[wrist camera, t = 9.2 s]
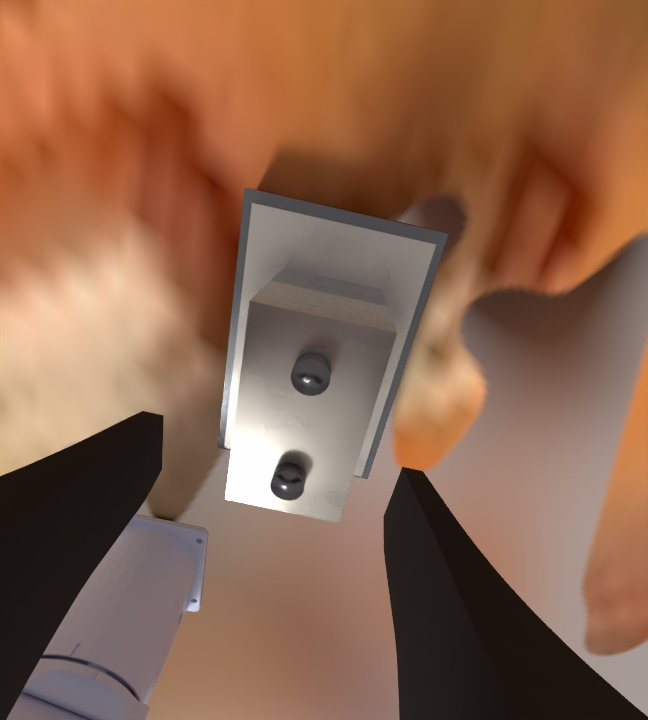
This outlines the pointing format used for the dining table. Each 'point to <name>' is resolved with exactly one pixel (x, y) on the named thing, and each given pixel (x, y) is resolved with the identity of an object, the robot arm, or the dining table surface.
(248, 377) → the housing
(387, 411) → the panel
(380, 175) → the dining table surface
